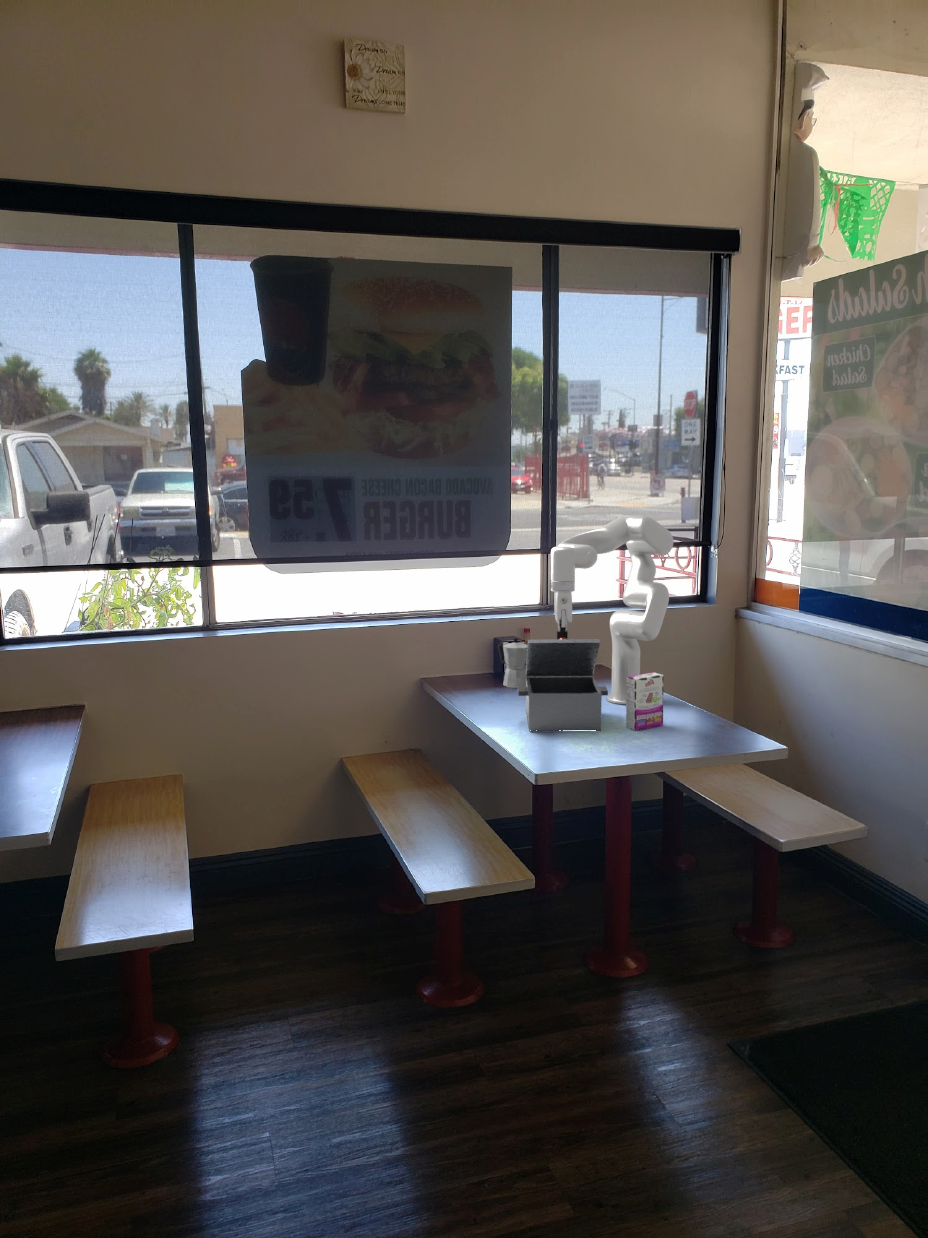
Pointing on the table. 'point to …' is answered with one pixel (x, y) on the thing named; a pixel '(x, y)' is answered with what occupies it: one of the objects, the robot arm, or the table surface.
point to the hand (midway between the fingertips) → (562, 643)
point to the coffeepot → (514, 663)
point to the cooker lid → (561, 657)
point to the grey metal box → (563, 703)
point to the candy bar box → (644, 701)
